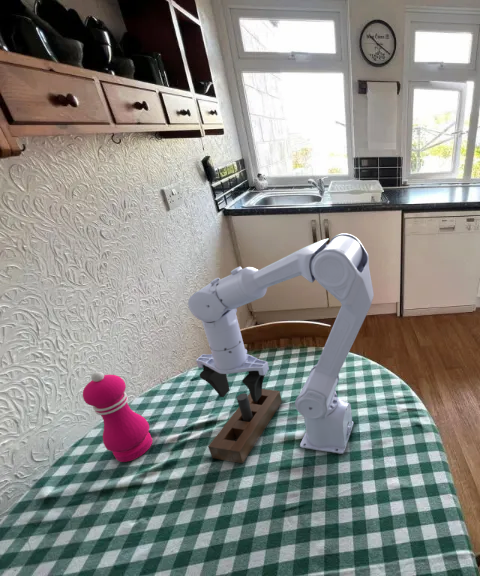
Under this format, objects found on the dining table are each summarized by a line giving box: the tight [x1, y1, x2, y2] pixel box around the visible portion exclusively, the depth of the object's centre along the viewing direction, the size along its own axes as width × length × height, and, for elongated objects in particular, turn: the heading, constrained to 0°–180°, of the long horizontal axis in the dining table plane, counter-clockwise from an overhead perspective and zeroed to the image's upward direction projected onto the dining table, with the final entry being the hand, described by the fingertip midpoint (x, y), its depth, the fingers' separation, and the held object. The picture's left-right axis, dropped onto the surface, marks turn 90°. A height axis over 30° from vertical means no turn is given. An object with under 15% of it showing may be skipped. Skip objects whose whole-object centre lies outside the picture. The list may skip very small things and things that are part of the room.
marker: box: [236, 392, 253, 422], centre depth 67 cm, size 2×2×9 cm
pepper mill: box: [82, 371, 153, 463], centre depth 61 cm, size 7×7×20 cm
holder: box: [207, 388, 283, 464], centre depth 69 cm, size 7×16×4 cm, turn 170°
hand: (241, 395), depth 66 cm, fingers open, 7 cm apart
